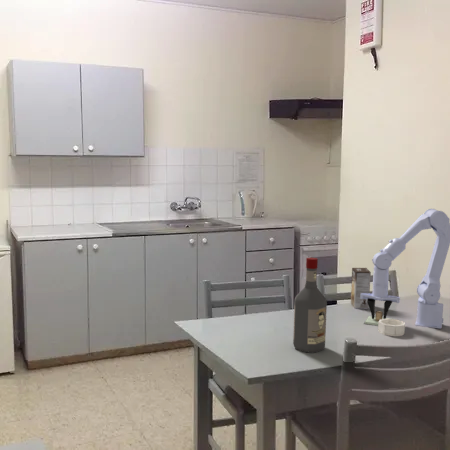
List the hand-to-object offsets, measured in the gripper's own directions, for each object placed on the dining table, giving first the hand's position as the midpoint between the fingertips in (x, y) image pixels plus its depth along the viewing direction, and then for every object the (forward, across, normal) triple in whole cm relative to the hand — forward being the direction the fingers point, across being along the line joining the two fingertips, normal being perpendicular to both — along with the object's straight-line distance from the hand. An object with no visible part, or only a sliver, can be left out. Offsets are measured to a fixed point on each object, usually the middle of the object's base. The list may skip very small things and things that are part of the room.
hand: (378, 318), depth 219 cm
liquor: (+2, -17, -40) cm, 43 cm away
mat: (+2, 0, 0) cm, 2 cm away
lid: (+1, 0, 0) cm, 1 cm away
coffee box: (+2, -11, +22) cm, 25 cm away
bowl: (+2, +6, -11) cm, 13 cm away
